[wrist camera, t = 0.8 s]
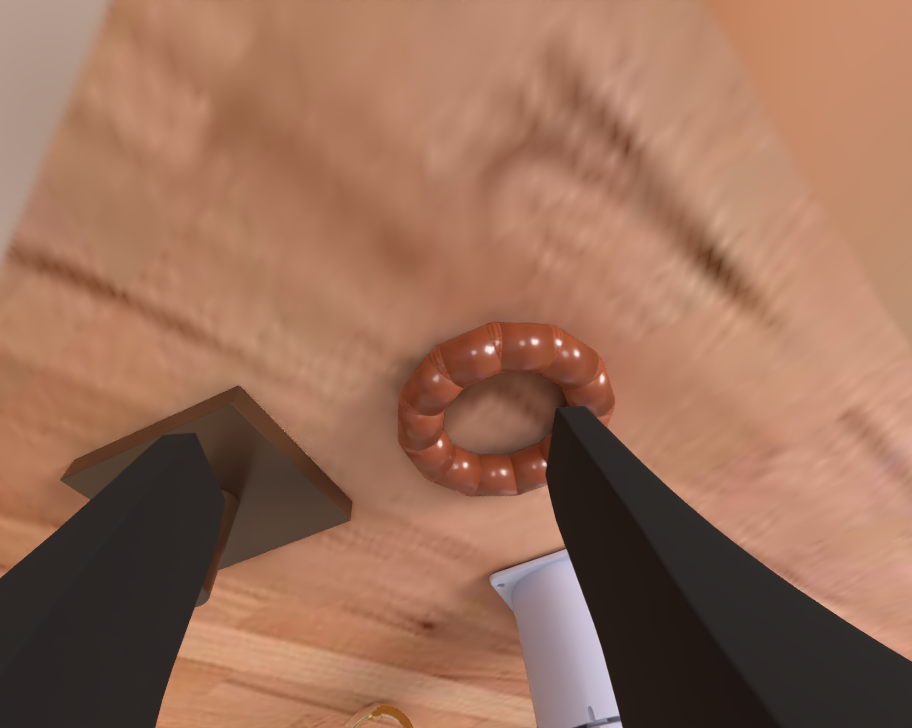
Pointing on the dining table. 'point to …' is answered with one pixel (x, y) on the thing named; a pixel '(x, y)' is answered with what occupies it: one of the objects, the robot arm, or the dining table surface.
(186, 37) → the dining table surface
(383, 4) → the dining table surface
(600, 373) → the hoop
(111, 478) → the stand
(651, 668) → the robot arm
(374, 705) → the ring
